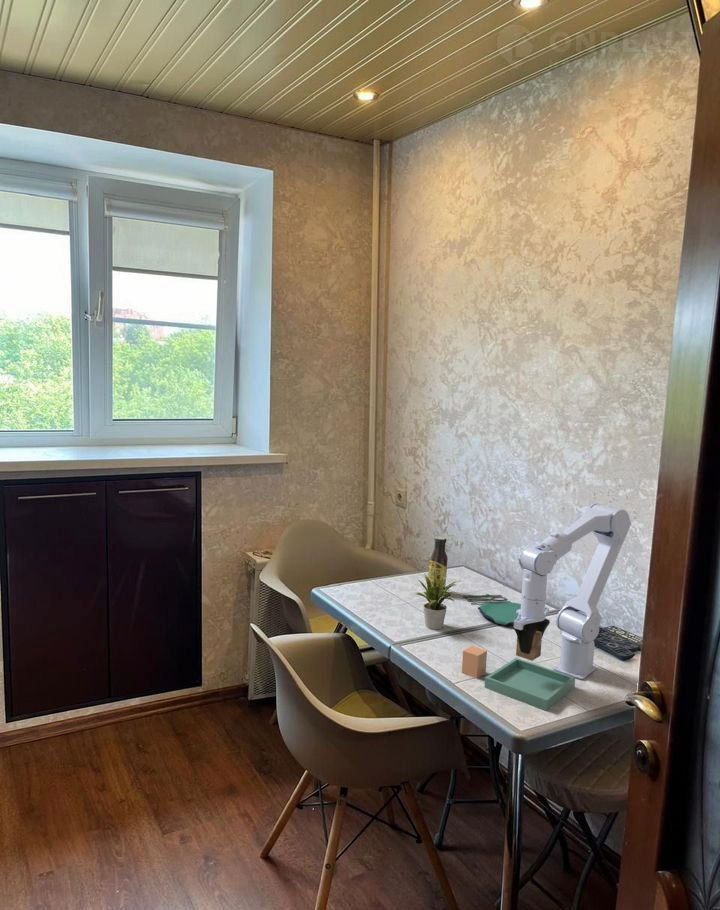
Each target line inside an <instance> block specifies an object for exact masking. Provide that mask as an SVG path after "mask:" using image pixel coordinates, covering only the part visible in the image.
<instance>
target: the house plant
mask: <svg viewBox="0 0 720 910" xmlns="http://www.w3.org/2000/svg"><path fill="white" fill-rule="evenodd" d="M423 575H424V578H425V582H426V585H425V584H424V582H422V580H419V579H418V583H420V585H421V586H422V587H423V588H424V589H425V591H424V592H423V593H424V594H423V593H422V592H415V595H418V596H421V597H423V598H425V599H426V600H427V601H428V602H426V603H424V604H423V607H422V608H423V616H424V624H425V627H426V628H427V629H430V630H437V631H438V630H441V629H443V627H444V623H445V618H446V614H447V609H448V607H447V605H446V604H444V603H446V601H444V600H448V601H449V600H450V601H452V602H454V604H455V603H456V602H455V599H454V598H451V597H454V595H452V594H453V593H454V591H451V592H450V588H452V587H457V583H458V582H460V580H456V581H453V582H450V583H449V584H448V585H446V586H445V587H444V588H442V587H443V585H444V583H445V579H446V580H447V575H446V576H445V577H444V574H443V576H442V578H441V580H440V582H439V584H438V586H437V583H436V579H435V576H434V574H433V578H434V583H433V582H432V581H430V580H429V578H428V576H427V575H428V574H425V573H423ZM431 582H432V584H433V587H432V585H431ZM443 589H444V590H443ZM442 590H443V591H442ZM441 591H442V592H441ZM444 591H445V592H444ZM448 591H449V592H448ZM440 592H441V593H440Z"/></svg>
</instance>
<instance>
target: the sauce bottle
mask: <svg viewBox="0 0 720 910" xmlns="http://www.w3.org/2000/svg"><path fill="white" fill-rule="evenodd" d="M446 544H447V537H445V536H439V535H438V536H434V547H433V551H432V553H431V556H430V559H429V561H428V562H429V563H428V574H427V575H428V576H427V577H428V578H429V580H430V581H432V582H433V583H434V578H433V574H434V576H435V579H436V583H437V586H438V584H439V582H440V580H441V578H442V576H443V574H444V577H445V576H447V575H448V573H447V572H448V560H449V559H448V555H447V553H446ZM446 581H447V578H446V579H445V583H444V585H443V587H442V588H444V587H446V586H447V585H446V583H447V582H446ZM432 582H431V585H432V587H433V584H432ZM443 590H444V589H443ZM443 590H442V591H443ZM442 591H441V592H442ZM441 592H440V593H441ZM444 592H445V591H444Z"/></svg>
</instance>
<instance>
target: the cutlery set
mask: <svg viewBox="0 0 720 910" xmlns="http://www.w3.org/2000/svg"><path fill="white" fill-rule="evenodd" d="M485 597H486V598H485ZM462 598H463V599H466V600H467V601H470V606H471V605H474V604H481V605H479V606H478V607H477V609H478V610H479V613H480V614H481V615H482V616H484V617H485V618H486V619H489V620H492V621H494V622H495V624H497V625H498V624H500V625H503V626H506V625H512V626H513V624H514V620H516V619H517V617H518V615H519V614H517V613H516V611H517V610H519V609H521V603H518V602H512V601H511V600H507V599H508V598H507V597H505V596H504V597H503V595H501V594H490V593H486V594H481V595H480V594H479V595H472V594H471V595H470V594H463V595H462ZM506 600H507V601H506ZM472 601H480V602H472ZM545 619H547V618H546V617H545Z"/></svg>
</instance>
